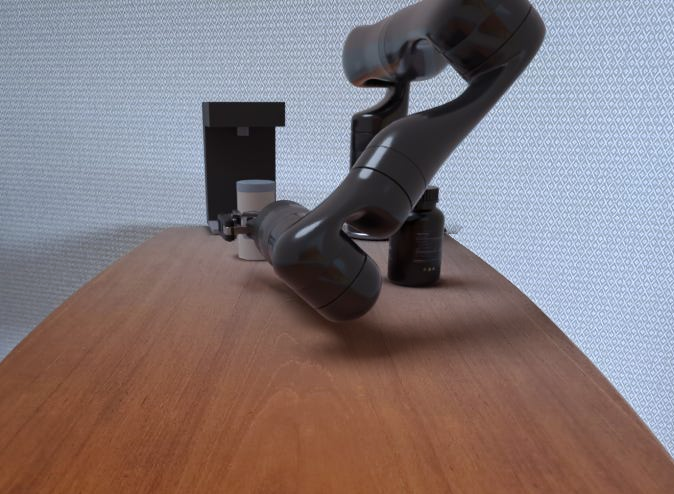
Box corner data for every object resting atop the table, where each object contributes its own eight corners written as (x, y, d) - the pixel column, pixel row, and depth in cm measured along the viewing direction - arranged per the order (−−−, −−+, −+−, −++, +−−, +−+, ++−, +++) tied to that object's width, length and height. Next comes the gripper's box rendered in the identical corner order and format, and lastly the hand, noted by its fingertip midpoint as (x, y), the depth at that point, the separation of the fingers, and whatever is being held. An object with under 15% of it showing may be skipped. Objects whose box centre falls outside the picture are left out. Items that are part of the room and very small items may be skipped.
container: (278, 253, 105) (277, 180, 101) (272, 261, 99) (271, 184, 96) (242, 252, 105) (240, 179, 101) (234, 259, 100) (232, 183, 96)
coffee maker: (285, 232, 122) (285, 101, 114) (213, 234, 120) (208, 101, 112) (272, 220, 134) (271, 102, 126) (206, 222, 132) (201, 102, 124)
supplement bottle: (376, 277, 90) (381, 184, 86) (419, 272, 92) (425, 182, 88) (406, 289, 84) (412, 190, 80) (450, 284, 87) (459, 188, 82)
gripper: (229, 273, 77) (215, 246, 92) (349, 267, 80) (316, 242, 95) (227, 206, 74) (212, 189, 89) (352, 202, 77) (317, 187, 92)
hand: (266, 216), depth 92 cm, fingers open, 8 cm apart
